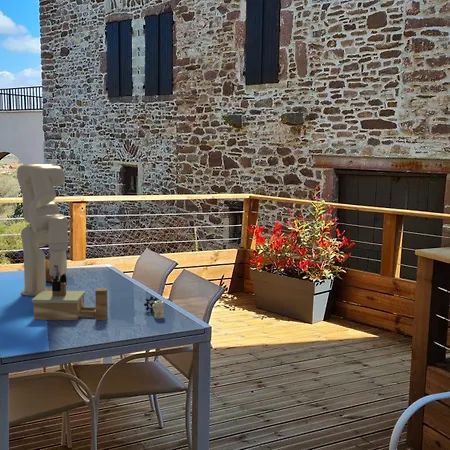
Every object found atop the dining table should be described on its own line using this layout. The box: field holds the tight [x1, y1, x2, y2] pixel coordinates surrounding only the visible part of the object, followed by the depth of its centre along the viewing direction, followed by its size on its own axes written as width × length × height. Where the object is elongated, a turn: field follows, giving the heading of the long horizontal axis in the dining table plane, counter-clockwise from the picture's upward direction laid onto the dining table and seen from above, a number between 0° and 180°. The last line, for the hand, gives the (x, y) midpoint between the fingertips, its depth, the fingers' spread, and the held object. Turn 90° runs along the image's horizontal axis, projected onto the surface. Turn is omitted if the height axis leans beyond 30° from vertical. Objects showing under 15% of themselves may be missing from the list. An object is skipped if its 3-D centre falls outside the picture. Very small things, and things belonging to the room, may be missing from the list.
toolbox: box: [33, 295, 96, 321], centre depth 249 cm, size 14×24×7 cm, turn 91°
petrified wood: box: [45, 258, 58, 283], centre depth 312 cm, size 19×13×10 cm
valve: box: [143, 295, 165, 320], centre depth 251 cm, size 7×7×12 cm
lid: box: [31, 282, 86, 304], centre depth 248 cm, size 15×18×6 cm
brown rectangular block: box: [94, 288, 108, 321], centre depth 244 cm, size 4×4×12 cm
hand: (59, 288), depth 247 cm, fingers open, 9 cm apart
